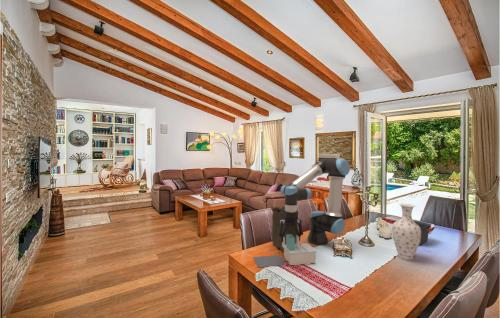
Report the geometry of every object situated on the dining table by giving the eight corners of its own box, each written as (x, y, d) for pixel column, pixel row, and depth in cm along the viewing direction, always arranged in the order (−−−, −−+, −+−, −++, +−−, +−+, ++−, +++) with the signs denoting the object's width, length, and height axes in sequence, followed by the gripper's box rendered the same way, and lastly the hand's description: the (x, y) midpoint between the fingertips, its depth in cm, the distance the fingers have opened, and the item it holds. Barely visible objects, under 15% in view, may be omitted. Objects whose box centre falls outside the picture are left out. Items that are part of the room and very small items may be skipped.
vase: (395, 250, 171) (396, 201, 170) (422, 257, 159) (424, 205, 158) (388, 257, 160) (389, 204, 158) (417, 265, 148) (419, 209, 147)
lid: (307, 244, 162) (307, 231, 162) (316, 252, 149) (316, 238, 149) (283, 246, 159) (283, 232, 158) (290, 254, 146) (290, 240, 146)
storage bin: (413, 236, 199) (413, 219, 198) (435, 242, 186) (436, 224, 185) (400, 242, 187) (401, 223, 186) (423, 248, 174) (424, 229, 174)
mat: (279, 255, 161) (279, 254, 161) (286, 265, 147) (286, 264, 147) (253, 257, 157) (253, 257, 157) (258, 267, 144) (258, 267, 144)
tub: (306, 255, 162) (306, 244, 161) (315, 263, 150) (315, 252, 150) (283, 257, 159) (284, 246, 158) (290, 265, 147) (290, 254, 147)
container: (298, 253, 165) (299, 209, 164) (286, 255, 161) (286, 211, 160) (282, 241, 186) (282, 202, 185) (270, 243, 182) (271, 203, 181)
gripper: (304, 208, 158) (303, 243, 159) (272, 210, 153) (272, 245, 154) (309, 211, 150) (308, 247, 151) (276, 213, 146) (275, 250, 147)
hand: (290, 246), depth 153 cm, fingers open, 9 cm apart
